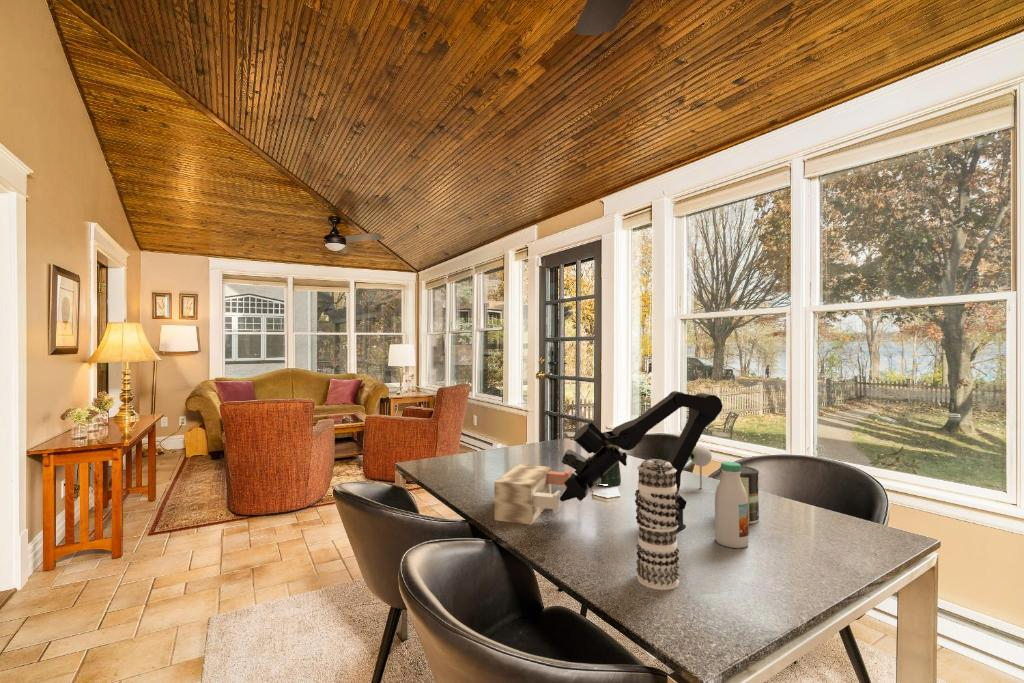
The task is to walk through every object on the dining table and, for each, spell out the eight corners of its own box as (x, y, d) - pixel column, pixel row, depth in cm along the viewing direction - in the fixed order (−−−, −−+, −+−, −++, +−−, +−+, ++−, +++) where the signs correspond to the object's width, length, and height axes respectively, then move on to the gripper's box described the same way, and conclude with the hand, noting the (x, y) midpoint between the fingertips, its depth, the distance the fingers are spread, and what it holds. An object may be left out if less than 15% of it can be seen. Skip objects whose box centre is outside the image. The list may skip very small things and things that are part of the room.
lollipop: (685, 486, 169) (685, 444, 169) (702, 484, 171) (702, 443, 171) (699, 492, 162) (698, 448, 162) (716, 490, 164) (716, 447, 165)
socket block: (551, 501, 153) (551, 466, 153) (531, 524, 133) (531, 485, 133) (518, 497, 157) (518, 464, 157) (494, 520, 136) (494, 481, 136)
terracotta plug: (571, 484, 150) (571, 469, 150) (568, 489, 146) (568, 473, 146) (535, 481, 154) (535, 466, 154) (531, 485, 150) (530, 470, 150)
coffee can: (748, 511, 143) (747, 464, 143) (766, 524, 133) (766, 473, 133) (713, 511, 143) (713, 464, 143) (729, 524, 132) (729, 473, 133)
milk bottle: (729, 550, 115) (728, 467, 115) (708, 538, 123) (707, 460, 123) (755, 547, 117) (754, 465, 118) (733, 535, 125) (732, 458, 125)
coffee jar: (612, 479, 178) (611, 430, 178) (624, 485, 171) (623, 433, 171) (589, 482, 175) (589, 431, 175) (600, 488, 167) (600, 435, 168)
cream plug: (560, 507, 136) (560, 490, 136) (556, 513, 131) (556, 495, 131) (520, 503, 140) (520, 487, 140) (515, 508, 135) (515, 491, 135)
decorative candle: (687, 579, 101) (686, 461, 101) (669, 595, 94) (668, 469, 94) (647, 566, 107) (646, 454, 107) (627, 581, 100) (626, 462, 101)
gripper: (585, 435, 141) (549, 469, 144) (572, 447, 123) (531, 486, 127) (612, 464, 138) (575, 498, 141) (602, 481, 120) (560, 519, 124)
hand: (560, 499), depth 133 cm, fingers closed
